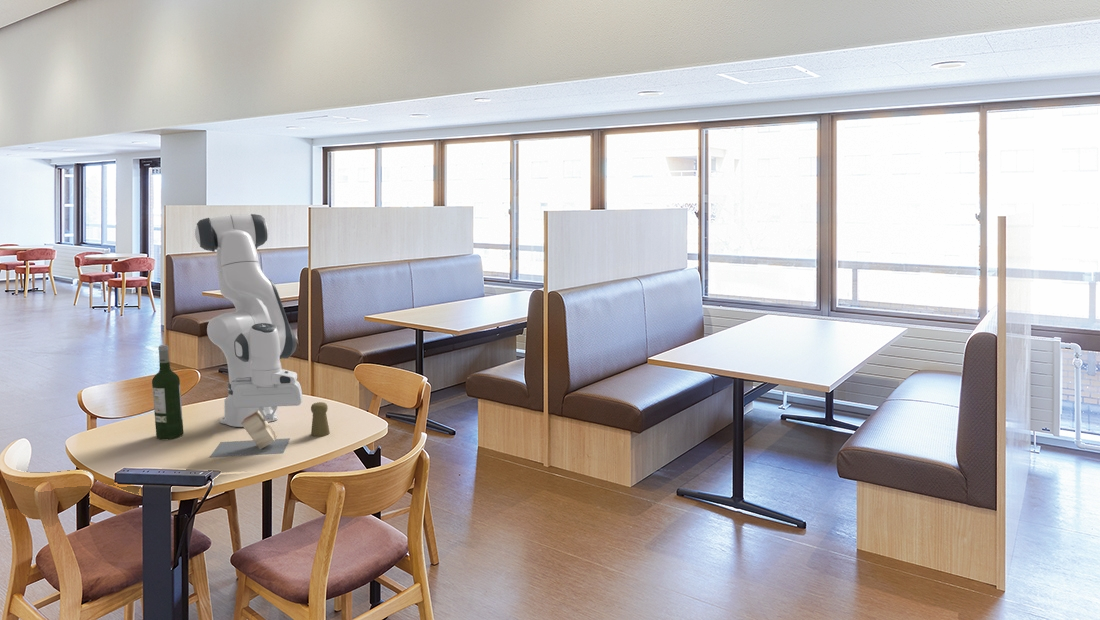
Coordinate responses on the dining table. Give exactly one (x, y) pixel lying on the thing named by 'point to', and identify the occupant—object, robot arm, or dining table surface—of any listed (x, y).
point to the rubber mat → (249, 448)
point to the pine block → (259, 429)
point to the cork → (319, 420)
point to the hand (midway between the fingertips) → (268, 420)
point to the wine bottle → (167, 399)
